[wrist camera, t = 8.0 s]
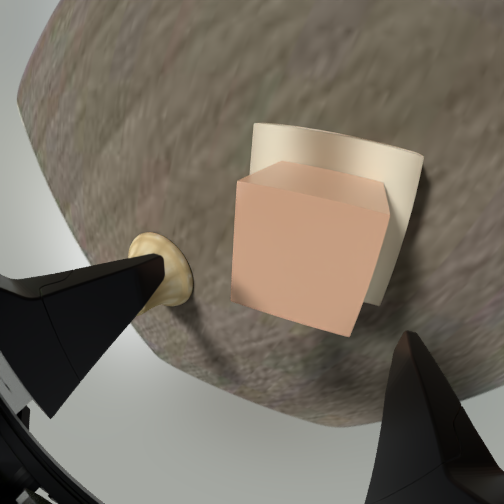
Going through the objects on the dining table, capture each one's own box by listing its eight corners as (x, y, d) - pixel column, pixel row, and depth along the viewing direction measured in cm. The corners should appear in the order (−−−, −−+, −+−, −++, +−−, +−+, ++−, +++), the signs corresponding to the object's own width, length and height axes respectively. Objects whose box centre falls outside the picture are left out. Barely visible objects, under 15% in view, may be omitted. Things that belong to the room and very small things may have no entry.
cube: (383, 182, 14) (390, 215, 9) (359, 274, 17) (349, 337, 12) (281, 160, 16) (237, 180, 11) (271, 250, 19) (230, 301, 14)
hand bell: (190, 240, 25) (39, 351, 11) (196, 314, 28) (90, 426, 15) (126, 225, 27) (-4, 302, 14) (138, 292, 31) (36, 375, 18)
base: (415, 152, 15) (423, 156, 13) (380, 283, 20) (379, 306, 17) (270, 122, 18) (254, 122, 16) (258, 250, 23) (242, 267, 20)
